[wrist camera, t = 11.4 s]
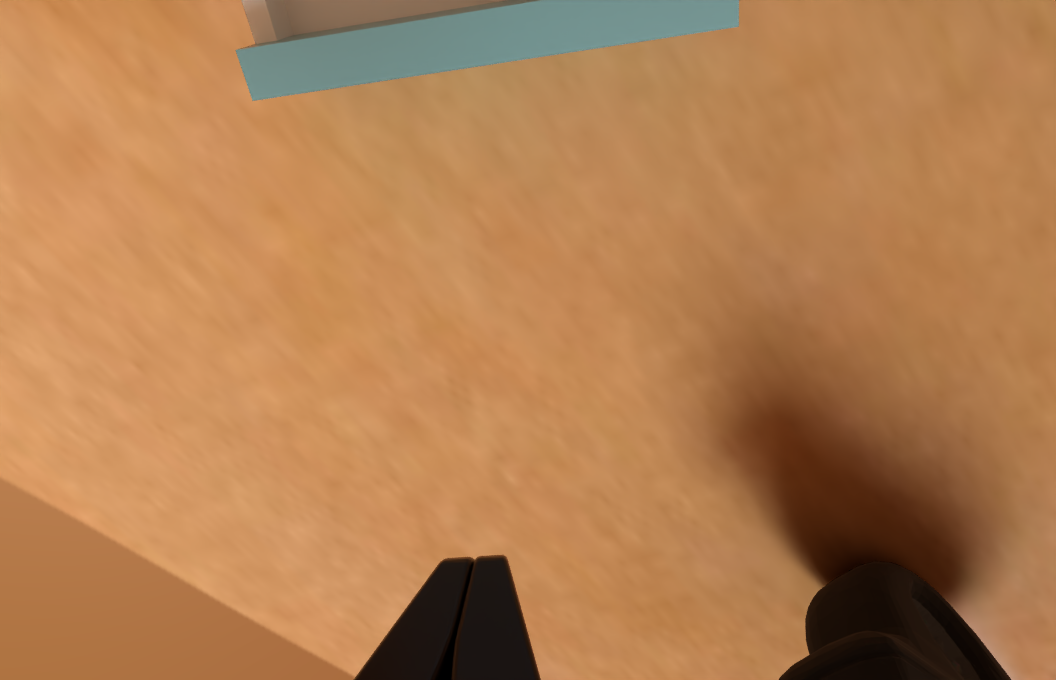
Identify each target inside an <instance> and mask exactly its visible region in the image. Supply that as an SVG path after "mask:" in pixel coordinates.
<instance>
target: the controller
mask: <svg viewBox="0 0 1056 680" xmlns="http://www.w3.org/2000/svg"><path fill="white" fill-rule="evenodd" d="M805 620H806V642H807V646H808V650H809V654H810V655H809V656H807V657H805V658H804V659H802V660H800V661H798V662H797V663H795V664H794V665H792V666H791V667H790V668H789V669H788V670H787V671H786V672H785V673H784V674H783V675H782V676H781V677H780V678H779V680H1011V679H1010V677H1009V676H1008V675H1007V673H1006V672H1005V671H1004V669H1003V668H1002V667H1001V666H1000V664H999V663H998V662H997V660H996V659H995V658H994V657H993V655H992V654H991V653H990V651H989V650H988V649H987V648H986V646H985V645H984V644H983V642H982V641H981V640H980V639H979V637H978V636H977V635H976V633H975V632H974V631H973V630H972V629H971V628H970V627H969V626H968V624H967V623H966V622H965V621H964V620H963V619H962V618H961V616H960V615H959V614H958V613H957V612H956V611H955V610H954V609H953V608H952V607H951V605H950V604H949V603H948V602H947V601H946V600H945V599H944V598H943V597H942V596H941V595H940V594H939V593H938V592H937V591H936V590H935V589H934V588H933V587H931V586H930V585H929V584H928V583H927V582H925V581H924V580H923V579H921V578H920V577H918V576H917V575H916V574H914V573H913V572H911V571H909V570H907V569H905V568H903V567H901V566H899V565H896V564H893V563H888V562H871V563H867V564H864V565H860V566H858V567H856V568H854V569H852V570H851V571H849V572H847V573H845V574H843V575H842V576H840V577H838V578H836V579H834V580H833V581H831V582H830V583H829V584H827V585H826V586H825V587H823V588H822V589H821V590H819V591H818V592H817V594H816V595H815V596H814V598H813V599H812V601H811V603H810V605H809V607H808V611H807V615H806V619H805Z"/></svg>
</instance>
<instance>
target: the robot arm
mask: <svg viewBox="0 0 1056 680" xmlns="http://www.w3.org/2000/svg"><path fill="white" fill-rule="evenodd" d="M354 680H541V679H540V675H539V672H538V668H537V664H536V661H535V657H534V653H533V650H532V646H531V643H530V639H529V635H528V632H527V628H526V624H525V621H524V617H523V613H522V610H521V606H520V603H519V599H518V595H517V592H516V588H515V584H514V581H513V577H512V574H511V570H510V566H509V563H508V560H507V557H506V556H504V555H492V556H480V557H477V558H476V559H475V560H474V559H473V558H471V557H459V558H447V559H444V560H442V561H441V562H440V563H439V564H438V566H437V567H436V568H435V570H434V571H433V572H432V574H431V575H430V576H429V578H428V579H427V581H426V582H425V583H424V585H423V586H422V587H421V589H420V590H419V591H418V593H417V594H416V596H415V597H414V598H413V600H412V601H411V602H410V604H409V605H408V606H407V608H406V609H405V611H404V612H403V613H402V615H401V616H400V617H399V619H398V620H397V621H396V623H395V624H394V626H393V627H392V628H391V630H390V631H389V632H388V634H387V635H386V636H385V638H384V639H383V641H382V642H381V643H380V645H379V646H378V647H377V649H376V650H375V651H374V653H373V654H372V656H371V657H370V658H369V660H368V661H367V662H366V664H365V665H364V666H363V668H362V669H361V670H360V672H359V673H358V675H357V676H356V677H355V679H354Z"/></svg>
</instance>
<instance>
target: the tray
mask: <svg viewBox="0 0 1056 680" xmlns="http://www.w3.org/2000/svg"><path fill="white" fill-rule="evenodd" d="M242 4H243V7H244V10H245V13H246V16H247V19H248V22H249V25H250V28H251V31H252V35H253V38H254V41H255V44H254V45H251V46H247V47H244V48H241V49H238V50H236V53H237V56H238V59H239V62H240V65H241V68H242V71H243V73H244V76H245V79H246V82H247V85H248V88H249V91H250V94H251V97H252V100H253V101H255V100H261V99H268V98H274V97H281V96H288V95H294V94H301V93H307V92H314V91H320V90H327V89H333V88H340V87H347V86H353V85H360V84H366V83H373V82H379V81H386V80H392V79H399V78H406V77H412V76H419V75H425V74H432V73H438V72H445V71H451V70H458V69H464V68H471V67H478V66H484V65H491V64H497V63H504V62H510V61H517V60H523V59H530V58H537V57H543V56H550V55H556V54H563V53H569V52H576V51H582V50H589V49H596V48H602V47H609V46H615V45H622V44H628V43H635V42H641V41H648V40H655V39H661V38H668V37H674V36H681V35H687V34H694V33H700V32H707V31H714V30H720V29H727V28H733V27H739V0H242Z"/></svg>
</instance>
